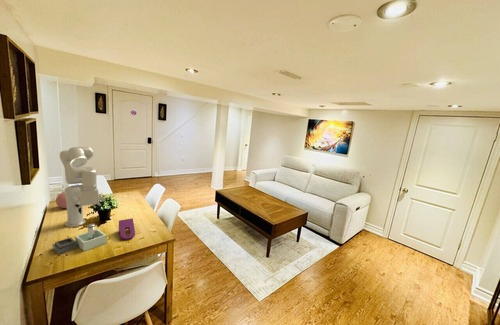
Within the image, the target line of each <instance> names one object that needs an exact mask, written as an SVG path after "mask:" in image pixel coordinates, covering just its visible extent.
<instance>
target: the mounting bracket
mask: <svg viewBox="0 0 500 325" xmlns="http://www.w3.org/2000/svg"><path fill="white" fill-rule="evenodd" d="M126 230H129V235H128V236H127V234H126ZM118 234H119V236H120V238H121V239H122V240H123V241H129V240H132V239H133V238H134V237H135V235H136V229H135V224H134V218H133V217H132V218H126V219H121V220H118Z"/></svg>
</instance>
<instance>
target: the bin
mask: <svg viewBox="0 0 500 325" xmlns="http://www.w3.org/2000/svg"><path fill="white" fill-rule="evenodd" d="M94 234H95V238H94V239H91V240H88V231H87V232H84V233H80V234H78V235H75V236H74V240H75V241H76V242H77V243H78V249H81V250H82V251H83V252H86V251H88V250H92V249H94V248H97V247H99V246H102V245H105V244H107V243H108V242H107V241H108V240H107V239H108V238H107V234H106V233H104V232H102V231H101V230H100V229H98V228H97V229H94ZM87 240H88V241H87Z"/></svg>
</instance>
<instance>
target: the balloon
mask: <svg viewBox="0 0 500 325" xmlns="http://www.w3.org/2000/svg"><path fill="white" fill-rule="evenodd" d="M78 198H79V199H80V197H78ZM55 204H56V206H57V207H59V208H62V209H67V203H66V197H65V193H64V192H61V193H59V194H58V195H57V196H56V199H55Z"/></svg>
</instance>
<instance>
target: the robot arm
mask: <svg viewBox="0 0 500 325" xmlns="http://www.w3.org/2000/svg"><path fill="white" fill-rule="evenodd" d="M93 157H94V150H93V148H91V146H90V147H89V146H73V147H71V148H69V149H67V150H66V149H65V150H62V151H60V153H59V159H60V162H61V163H62V165H63V167H64V176H65V182H66V184H68V185H70V186H67V187H65V188H64V193H65V197H66V203H67V208H66V216H67V221H66V222H65V224H64V225H65V227H67V228H71V227H74V228H75V227H78V226H82V225H84V224H85V223H86V220H85V219H84V215H83V214H84V213H83V207H85V206H93V205H97V212H100V210H101V209H102V208H101V207H102V205H103V204H104V203H105V202H106V197H104V196H103V197H102V196H100V192H99V189H98V188H97V170H96V167H93V166H85V165H86V164H87V162H88V161H89V160H91V159H92V158H93ZM74 184H75V185H74ZM77 184H78V185H77ZM78 197H80V199H79V198H78ZM100 200H101V201H100Z"/></svg>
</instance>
